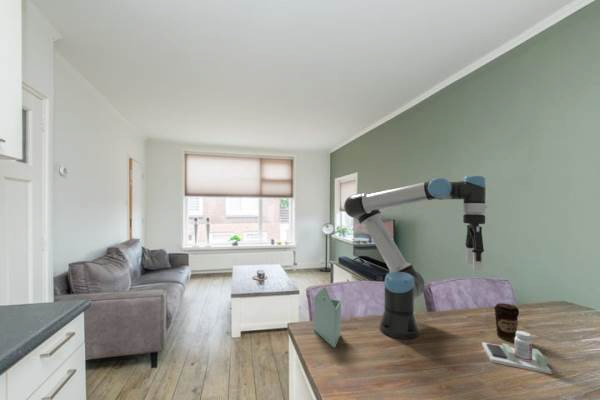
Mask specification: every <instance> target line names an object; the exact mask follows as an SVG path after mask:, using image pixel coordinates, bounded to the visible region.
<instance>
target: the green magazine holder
mask: <svg viewBox="0 0 600 400" xmlns="http://www.w3.org/2000/svg"><path fill="white" fill-rule="evenodd" d="M313 301H314V302H313V305H314V306H313V309H314V310H313V330H314V331H315V332H316V334H318V335H319V336H321V338H322V339H323V340H324V341H326V343H328V345H330V346H331V347H332V348H334V349H335V348H336V346H337V344H338V343H339V340H340V336H341V321H342V320H341V318H342V315H341V314H342V301H341V300H339V299H338V300H337V299H334V298H333V299H332V298H331V297H330V294H329V292H328V290H327V287H326V286H323V287H322V289H321V290H319V291H318V293H316V294H315V295H314V300H313Z"/></svg>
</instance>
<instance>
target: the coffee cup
mask: <svg viewBox="0 0 600 400" xmlns="http://www.w3.org/2000/svg"><path fill="white" fill-rule="evenodd" d="M493 309H494V315H495V328H496V335H497V337H498V338H500V339H502V340H505V341H509V342H510V341H511V342H513V341H514V342H515V337H516V331H518V326H519V320H518V318H519V315H520V310H519V308H518V307H517V306H516V305H515V304H511V303H510V304H509V303H501V302H500V303H499V302H498V303H496V305H495V306H494V308H493Z"/></svg>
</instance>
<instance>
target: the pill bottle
mask: <svg viewBox="0 0 600 400" xmlns="http://www.w3.org/2000/svg"><path fill="white" fill-rule="evenodd" d="M531 339H532V335H531V333H529V332H526V331H523V330H517V331H516V337H515V341H514V348H515V357H517V358H518V359H520V360H523V361H532V348H533V341H532V340H531Z"/></svg>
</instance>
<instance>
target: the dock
mask: <svg viewBox="0 0 600 400" xmlns="http://www.w3.org/2000/svg"><path fill="white" fill-rule="evenodd" d="M481 346H482V348H483V349H484V351H485V354H486V355H487V357H488V360H489V361H490V362H491V363H494V364H500V365H505V366H509V367H515V368H520V369H524V370H528V371H529V370H531V371H535V372H539V373H545V374H551V375H552V370H551V369H550V368H549V366H548V358H546V357H545V356H544V355H543V354H542V352H541V351H540V350H539V349H538V348H533V347H532V361H523V360H520V359H518V358H517V357H515V347H512V346H510V345H509V344H508V343H503V342H502V343H501V345H500V344H494V343H489V342H484V341H482V342H481Z"/></svg>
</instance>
